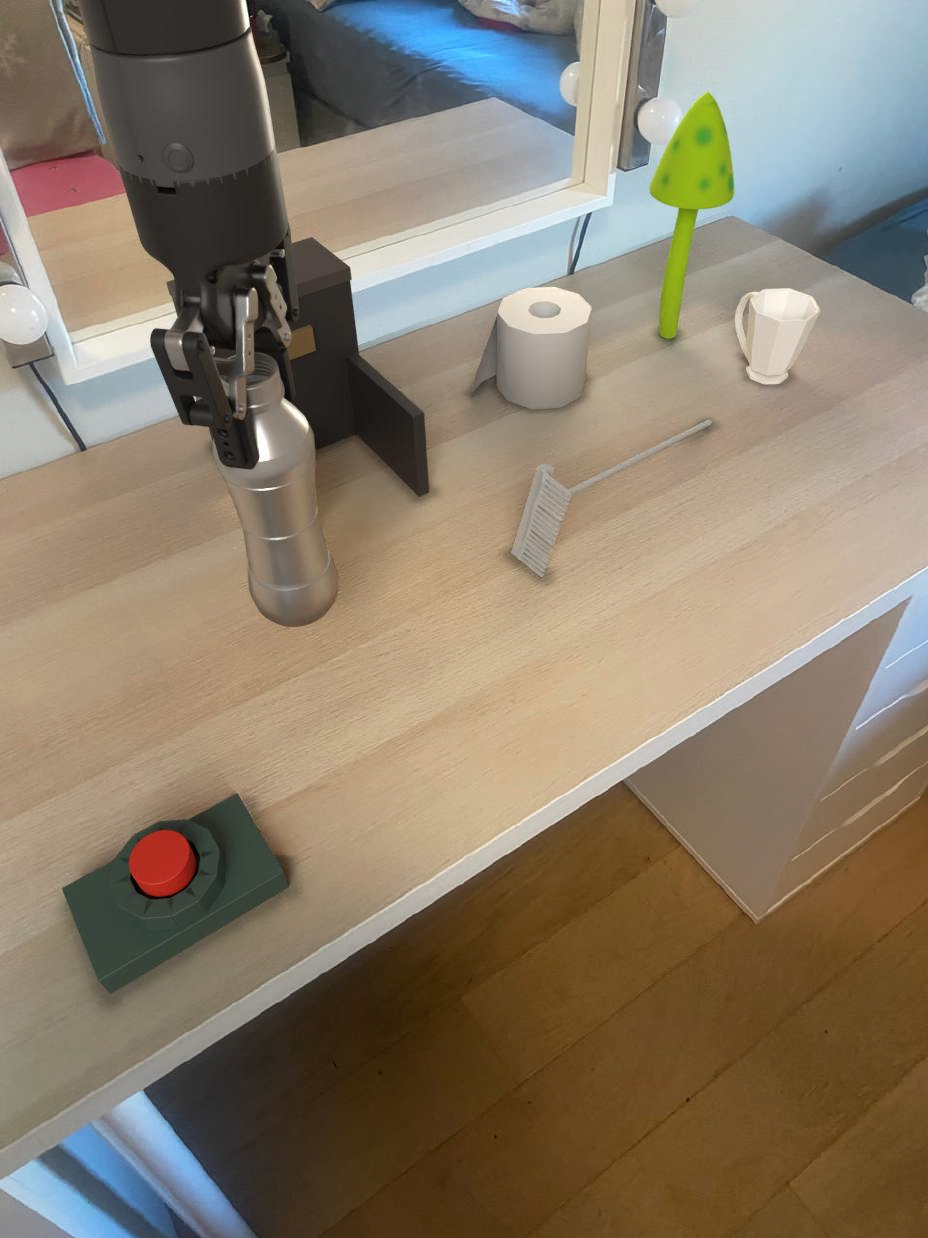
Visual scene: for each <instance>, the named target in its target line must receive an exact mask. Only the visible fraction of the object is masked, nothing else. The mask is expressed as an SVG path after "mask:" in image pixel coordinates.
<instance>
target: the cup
mask: <svg viewBox="0 0 928 1238" xmlns="http://www.w3.org/2000/svg"><path fill="white" fill-rule="evenodd" d="M748 301H749V304H748ZM747 304H748V319H747V333H745V330H744V326H743V314H744V311H745V308H746V305H747ZM821 311H822V310H821V308H820V306H819V305H818V302H817V301H816V299H815V298H814V296H812V295H810V294H806V293H803V292H801V291H798V290H796V289H793V288H791V287H789V288H788V287H787V288H786V287H785V288H784V287H783V288H763V289H762V290H760V291H750V292H747V293H745V295H743V296H741V299H740V300H739V302H738V305H737V306H736V311H735V314H734V329H735V332H736V336H737V339H738V343H739V344H740V347H741V350H742V352H743V354H744V356H745V358H746V359H747V362H748V364H749V365H747V366H746V367H745V371H746V373H747V376H748V378H749V379H750V380H752V381H754V382H756V383H759V384H761V385H763V386H764V385H780V384H782V383H783V382H784V381H785V380H786V379H787V378H788V377H789V373H788V371H789V370H790V369H792V367H794V365H795V363H796V361H797V359H798V358H799V357H800V354H801V353H802V351H803V349H804V347H805V345H806V343H807V341H808V338H809V336H810V335H811V332H812V330H813V328H814V326H815V324H816V323H817V320H818V318H819V315H820V314H821Z"/></svg>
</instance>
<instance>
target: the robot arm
mask: <svg viewBox="0 0 928 1238" xmlns="http://www.w3.org/2000/svg"><path fill="white" fill-rule="evenodd" d="M76 3H77V7H78V10H79V14H80V17H81V20H82V24H83V28H84V31H85V34H86V38H87V41H88V46H89V51H90V54H91V60H92V64H93V70H94V77H95V84H96V89H97V95H98V99H99V103H100V106H101V112H102V115H103V119H104V122H105V125H106V129H107V132H108V135H109V139H110V142H111V147H112V150H113V153H114V157H115V160H116V164H117V166H118V171H119V174H120V177H121V180H122V184H123V187H124V190H125V194H126V197H127V198H126V199H127V201H128V205H129V207H130V211H131V215H132V218H133V222H134V226H135V228H136V232H137V236H138V239H139V242H140V245H141V247H142V248H143V249H144V251H145V252H146V253H147V254H148V255H149V256H150V257H151V258H153V259H155V260H156V261H157V262H159V263H160V264H162V265H163V266H164V267H165V268H166V269H167V270H168V271H169V272H170V273H171V275H172V276H173V280H174V284H175V301H176V309H177V312H178V314H179V316H178V317H176V319H175V320H174V322H173V323H172V326H171V328H169V329H168V328H159V327H156V328H153V329H152V330H151V333H150V337H149V343H150V348H151V351H152V353H153V356H154V359H155V361H156V363H157V365H158V368H159V370H160V373H161V376H162V377H163V380H164V382H165V385H166V388H167V390H168V392H169V395H170V398H171V400H172V402H173V405H174V407H175V410H176V412H177V414H178V417H179V420H180V422H181V423H182V425H184V426H193V427H194V426H198V427H206V428H209V427H210V428H211V431H212V435H213V439H214V442H215V445H216V450H217V453H218V457H219V460H220V461H221V463H222V464H223V465H225V466H227V467H232V468H240V469H248V470H251V469H253V468H254V467H255V466H256V464H257V462H258V460H259V454H258V450H257V446H256V441H255V437H254V433H253V429H252V424H251V420H250V416H249V411H246V409H247V404H246V378H247V376H248V375H250V374H252V373H253V371H254V352H258V353H264V354H267V355H269V356H271V357H272V358H274V359H275V361H276V362H277V365H278V368H279V373H280V378H281V380H282V382H283V385H284V390H285V394H284V397H283V398H285V399H286V400H288V401H289V402H290V403H292V401H293V399H294V397H295V395H296V392H295V386H294V381H293V375H292V370H291V364H290V359H289V354H288V348H286V347H289V345H290V343H291V338H292V336H291V330H290V327H289V325H288V324H289V322H297V320H298V317H299V304H298V295H297V286H296V277H295V268H294V259H293V250H292V243H293V242H292V233H291V225H290V222H289V217H288V210H287V204H286V198H285V193H284V187H283V181H282V175H281V169H280V161H279V156H278V150H277V145H276V138H275V131H274V126H273V118H272V114H271V113H272V112H271V108H270V102H269V95H268V89H267V84H266V80H265V79H266V78H265V76H264V71H263V68H262V64H261V60H260V58H259V54H258V52H257V48H256V44H255V41H254V40H255V39H254V36H253V35H254V34H253V30H252V27H251V25H250V22H251V21H250V14H249V8H248V3H247V0H76ZM276 283H277V284H279V285H280V286H281V287H282V293H283V297H282V295H281V293H280V291H279V289H278V287H277V285H276ZM254 344H256V345H254ZM215 348H217V349H227V350H236V357H235V359H225V358H216V357H213V355H214V354H215ZM219 375H225V376H226V377H227V378H228V379H229V396H226V394H225V391H224V388H223V385H222V382H221V379H220V376H219Z"/></svg>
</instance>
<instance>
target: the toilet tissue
mask: <svg viewBox="0 0 928 1238" xmlns="http://www.w3.org/2000/svg"><path fill="white" fill-rule="evenodd" d="M592 310H593V307H592V306H591V305H590V304H589V303H588V302H587V301H586V300H585V299H584V298H583V296H582V295H581V294H580V293H577V292H574V291H570V290H566V289H563V288H560V287H556V286H541V287H539V286H538V287H524V288H522V289H520V290H517V291H515V292H513V293H511V294H509V295H506V296H504V297H503V298H502V301H501V302H500V305H499V307H498V309H497V312H496V317H495V320H494V323H493V326H492V329H491V331H490V334H489V336H488V340H487V342H486V344H485V348H484V350H483V353H482V356H481V359H480V361H479V364H478V367H477V370H476V372H475V374H474V375H475V376H474V380H473V384H472V389H471V392H470V394H472V393H474V391H475V390H477V388H478V387H479V385H481V384H482V382H484V381H485V380H488V379H490V378H492V377H494V376H496V388H497V389H498V391H499V392H500V393H501V395H502V396H503V397H504V398H505V399H506V401H507V402H509V403H512V404H515V405H517V406H521V407H524V408H527V409H529V410H544V409H545V410H546V409H560V408H563V407H565V406H566V405H568V404H570V403H572V402H574V401H576V400H577V399H579V398H581V397H582V393H583V389H584V386H585V384H586V383H585V382H586V376H587V375H586V373H587V366H588V365H587V364H588V363H587V362H588V354H589V353H588V352H589V342H590V331H591V321H592Z"/></svg>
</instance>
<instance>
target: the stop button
mask: <svg viewBox="0 0 928 1238" xmlns="http://www.w3.org/2000/svg"><path fill="white" fill-rule="evenodd" d="M129 868H130V872H131V874H132V876H133V877H134V879H135V880H136V882H137V883H138V885H139V887H140V888H141V889H142V890H143V891H144V892H145V893H147V894H149V895H151V896H156V897H164V896H169V895H172V894H175V893H177V892H178V891H180V890H181V889H183V888H184V887H185V886H186V885H187V884H188V883H189V882H190V880H191V879H192V877H193V875H194V872H195V869H196V858H195V855H194V853H193V851H192V849H191V847H190V845H189V843H188V841H187V840H186V838H185V837H184V836H183V835H181V834H180V833H178V832H175V831H171V830H161V831H156V832H153V833H151V834H149V835H147V836H146V837H144V838H143V839H142V840H140V841H139V842H138V844H137V845H136V846H135V847H134V849H133V851H132V853H131V855H130V859H129Z"/></svg>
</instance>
